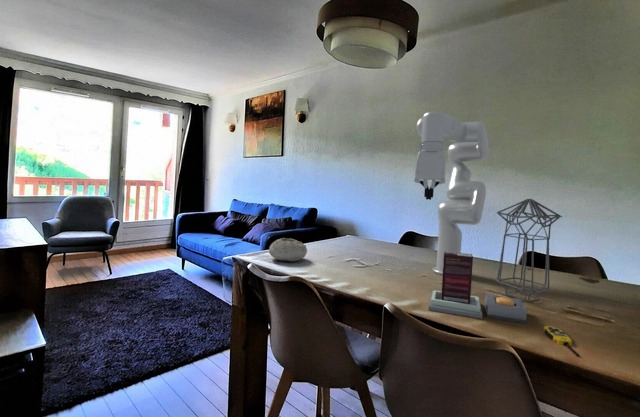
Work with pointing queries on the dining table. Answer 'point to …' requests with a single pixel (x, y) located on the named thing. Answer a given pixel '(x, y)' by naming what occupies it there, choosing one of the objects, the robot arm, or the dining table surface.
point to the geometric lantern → (518, 208)
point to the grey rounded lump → (287, 250)
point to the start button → (505, 301)
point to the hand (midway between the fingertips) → (428, 199)
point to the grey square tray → (455, 306)
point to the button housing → (505, 309)
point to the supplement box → (457, 277)
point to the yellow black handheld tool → (559, 337)
